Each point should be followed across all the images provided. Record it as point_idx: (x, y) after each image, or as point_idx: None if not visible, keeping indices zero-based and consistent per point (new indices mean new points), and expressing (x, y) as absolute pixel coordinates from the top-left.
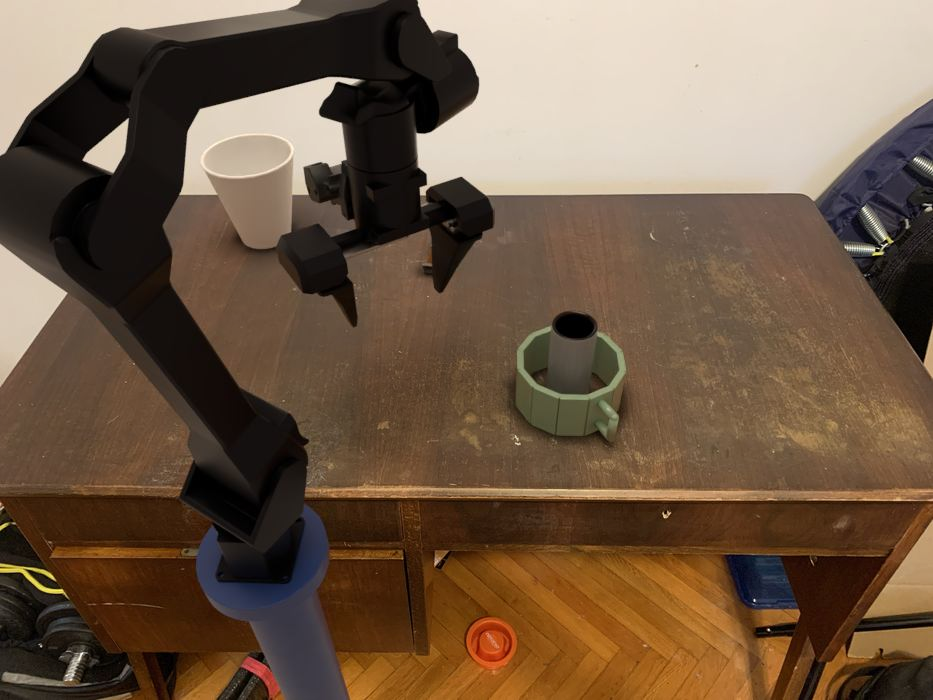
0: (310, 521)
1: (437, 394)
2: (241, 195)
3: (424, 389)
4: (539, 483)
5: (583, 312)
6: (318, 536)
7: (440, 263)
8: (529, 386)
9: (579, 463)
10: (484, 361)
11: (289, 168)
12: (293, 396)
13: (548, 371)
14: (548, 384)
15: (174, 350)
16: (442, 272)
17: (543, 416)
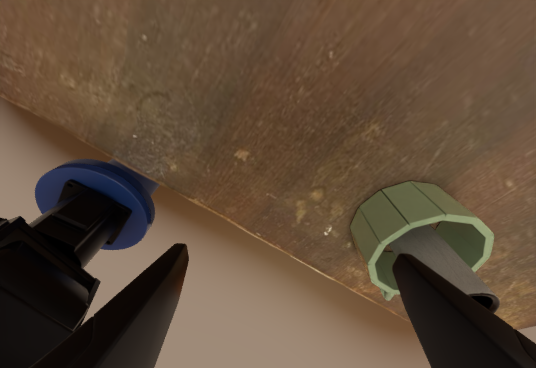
0: (137, 213)
1: (314, 152)
2: None
3: (308, 137)
4: (309, 261)
5: (498, 305)
6: (140, 226)
7: (456, 363)
8: (368, 258)
9: (344, 264)
10: (391, 142)
11: None
12: (159, 38)
13: (403, 243)
14: None
15: None
16: (430, 345)
17: (357, 247)
